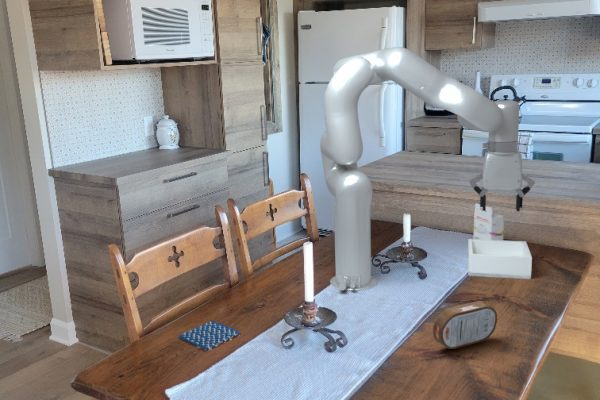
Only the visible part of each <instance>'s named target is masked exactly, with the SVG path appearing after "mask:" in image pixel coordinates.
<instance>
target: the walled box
mask: <svg viewBox="0 0 600 400" xmlns="http://www.w3.org/2000/svg"><path fill="white" fill-rule="evenodd" d="M467 240H468V241H467V270H468V271H467V272H468V273H467V274H468V277H482V278H483V277H484V278H485V277H487V278H498V279H499V278H502V279H519V280H520V279H521V280H531V279H532V267H533V266H532V264H533V262H532V261H533V257H532V254H531V251H530V249H529V246H528V243H527V241H525V240H523V241H522V240H505V239H503V240H480V239H473V238H468V239H467Z"/></svg>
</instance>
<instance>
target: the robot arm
mask: <svg viewBox="0 0 600 400" xmlns="http://www.w3.org/2000/svg"><path fill="white" fill-rule="evenodd" d="M332 67H333V68H332V71H331V79H330V81H329V82H328V85H327V87H326V89H325V92H324V95H323V114H324V125H325V131H324V132H323V134H322V135H321V139H320V145H319V147H320V154H321V155H320V156H321V161H322V167H323V172H324V178H325V183H326V187H327V189H328V191H329V193H330V194H331V195H332V196H333V197H334V198H335V206H334V220H333V222H334V250H335V251H334V256H335V257H334V258H335V259H334V261H335V262H334V263H335V275H334V276H332V278H331V279H329V282H330V284H331V285H332V286H333V287H334V288H337V289H339V290H340V291H351V292H359V291H367V290H370V289H373V288H374V287H376V286H377V284H378V280H377V278H375V276H373V275H372V246H371V245H372V238H371V237H372V235H371V234H372V231H371V227H372V225H371V221H372V220H371V218H372V217H371V215H372V214H371V213H372V205H373V204H372V203H373V194H374V193H373V192H374V190H373V186H372V182H371V179H370V178H369V177H368V176H367V175H366V173H364V172H363V171H361V170H359V168H358V162H359V161H360V159H361V157H362V156H363V152H364V145H363V139H362V131H361V127H360V121H359V109H358V106H359V100H360V97H361V95H362V93H363V91H365V90H366V89H367V88H368V87H369V86H372V85H377V84H381V83H385V82H387V81H391V82H392V83H395V84H397V85H398V86H400V87H401V88H403V89H405V90H406V91H408V92H409V93H411V94H412V95H414V96H416V97H417V98H418V99H420V100H421V101H423V102H424V103H427V104H429V105H430V106H432V107H436V108H440V109H442V110H446V111H448V112H451V113H453V114H455V115H457V122H458V123H459V124H460V126H462V127H463V128H464V129H468V130H471V131H477V132H482V133H488V141H487V142H483V143H482V149H487V151H486V152H485V154H484V157H483V165H482V173H480V174H478V175H476V176H474V177H473V178H471V179H470V180H469V184H470V185H471V187H472V188H473V190H474V192H476V193H477V194H478V195H479V201H480V202H479V204H480V207H483V209H482V211H486V206H487V205H486V204H487V198H486V197H487V196H486V194H487V192H488V191H489V190H491V191H499V190H500V191H515V192H516V193H517V194H516V196H515V198H516V199H515V210H516V212H520V209H522V208H523V200H524V199H523V198H524V196H525V195H527V194H528V193H529V192H530V191H531V189H532V188H533V186H534V185H535V184H536V181H535V180H534V179H532V178H531V177H529V176H528V175H526V174H525V173H523V159H522V153H521V152H520V151H519V150H518V149H519V145H518V144H519V129H520V128H519V125H520V104H519V102H517V101H516V100H496V101H492V99H490V98H488V97H487V96H485V95H484V94H483V93H481V92H479V91H478V90H475V88H472V87H471V86H468V85H466V84H465V83H463V82H461V81H459V80H457V79H456V78H453V77H451V76H449V75H448V74H446V73H444V72H442V71H441V70H439V69H438V68H437V67H435V66H433V65H432V64H430V63H429V62H428V61H426V60H425V59H423V58H422V57H421V56H418V55H417V54H416V53H414V52H413V51H411V50H409V49H407V48H405V47H403V46H402V47H401V46H394V47H387V48H382V49H379V50H375V51H371V52H366V53H361V54H356V55H351V56H347V57H344V58H341V59H339V60H338V61H336V63H335V64H334V66H332ZM481 180H482V181H481ZM480 181H481V182H482V188H480V186H478V184H477V183H478V182H480ZM523 181H524V182H526V183H527V184H526V185H525V186H524V187H523V188H522V186H523Z"/></svg>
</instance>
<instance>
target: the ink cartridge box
mask: <svg viewBox="0 0 600 400" xmlns="http://www.w3.org/2000/svg"><path fill="white" fill-rule="evenodd" d="M493 211H494V210H493V207H490V206H487V205H486V210H485V211H483V207H480V203H475V204H474V213H473V237H472V239H480V240H504V229H505V228H504V226H505V225H504V224H505V216H504V215H501V214H497V213H494V212H493Z"/></svg>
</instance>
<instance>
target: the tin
mask: <svg viewBox="0 0 600 400" xmlns="http://www.w3.org/2000/svg"><path fill="white" fill-rule="evenodd" d="M497 323H498V313H497V311H496V309H495V308H494V307H492V306H491V305H489V304H488V303H487V302H485V301H482V300H479V301H473V302H468V303H465V304H461V305H455V306H452V307H447V308H446V309H444V310H443V311H441V312H440V313H439V315H438V316H437V317H436V319H435V321H434V323H433V327H432V334H433V335H432V336H433V339H434V340H435V341H436V342H437V343H438V344H439V345H441V346H443V347H445V348H446V349H451V350H453V349H458V348H462V347H466V346H469V345H474V344H478V343H482V342H484V341H486V340H488V339H489V338H490V337H491V336H492V335H493V333H494V331H495V330H496V328H497Z"/></svg>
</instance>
